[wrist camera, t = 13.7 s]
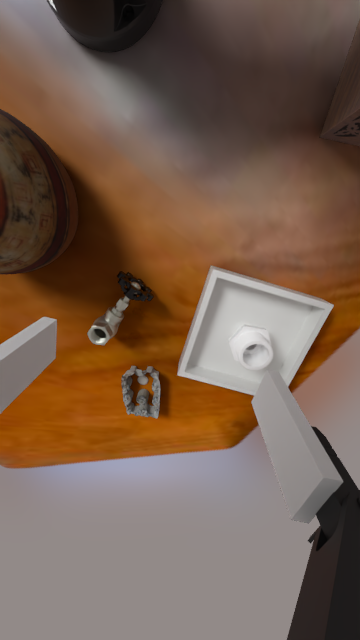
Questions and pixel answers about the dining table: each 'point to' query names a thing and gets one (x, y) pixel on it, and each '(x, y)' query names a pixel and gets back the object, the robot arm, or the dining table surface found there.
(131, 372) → the grey open frame part
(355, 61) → the tissue box cover
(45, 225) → the brown vase
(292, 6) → the dining table surface
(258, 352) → the pipe fitting
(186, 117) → the dining table surface
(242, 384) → the tray
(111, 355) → the dining table surface
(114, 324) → the valve
